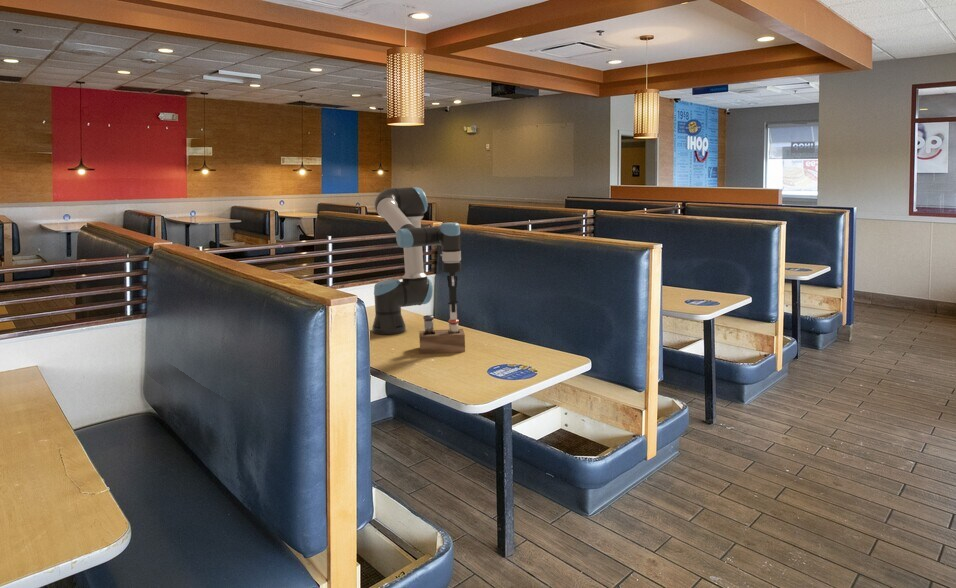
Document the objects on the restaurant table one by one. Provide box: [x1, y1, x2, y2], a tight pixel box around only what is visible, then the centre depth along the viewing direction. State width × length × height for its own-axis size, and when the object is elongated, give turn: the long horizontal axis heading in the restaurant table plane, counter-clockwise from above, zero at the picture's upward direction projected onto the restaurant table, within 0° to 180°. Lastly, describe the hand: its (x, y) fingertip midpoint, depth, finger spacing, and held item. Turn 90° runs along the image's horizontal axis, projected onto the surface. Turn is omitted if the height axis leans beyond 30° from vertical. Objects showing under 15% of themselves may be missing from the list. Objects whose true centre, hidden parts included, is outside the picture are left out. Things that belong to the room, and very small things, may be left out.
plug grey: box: [423, 314, 435, 335], centre depth 263 cm, size 4×4×8 cm
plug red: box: [447, 318, 460, 334], centre depth 265 cm, size 4×4×8 cm
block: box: [418, 328, 466, 355], centre depth 265 cm, size 10×18×7 cm, turn 95°
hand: (453, 319), depth 264 cm, fingers closed
